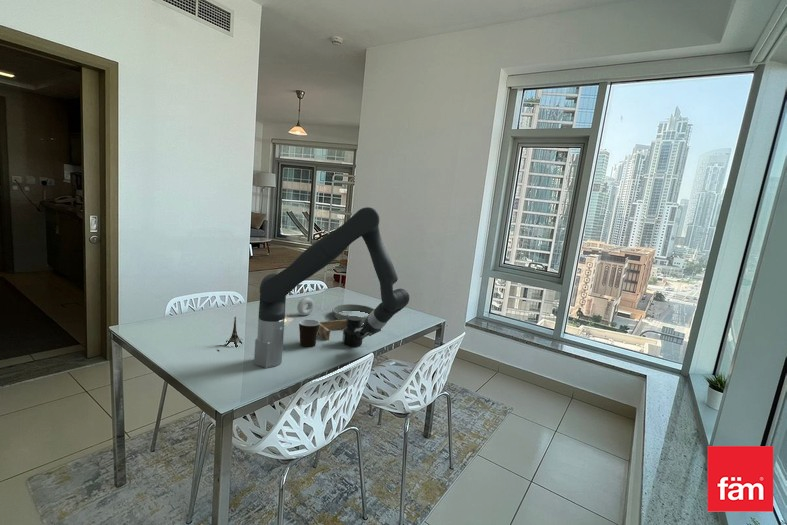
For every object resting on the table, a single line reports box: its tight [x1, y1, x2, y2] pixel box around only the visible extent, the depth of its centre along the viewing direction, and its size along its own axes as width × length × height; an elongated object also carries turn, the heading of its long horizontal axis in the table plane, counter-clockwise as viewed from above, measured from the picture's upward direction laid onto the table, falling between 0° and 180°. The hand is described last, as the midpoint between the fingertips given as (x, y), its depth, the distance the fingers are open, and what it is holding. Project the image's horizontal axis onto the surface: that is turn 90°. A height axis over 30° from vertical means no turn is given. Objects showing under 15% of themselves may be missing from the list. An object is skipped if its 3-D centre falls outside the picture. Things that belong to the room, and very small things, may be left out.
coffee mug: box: [298, 318, 321, 349], centre depth 161 cm, size 12×9×10 cm
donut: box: [296, 296, 315, 317], centre depth 199 cm, size 10×3×10 cm, turn 139°
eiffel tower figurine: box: [224, 316, 243, 349], centre depth 152 cm, size 15×10×13 cm
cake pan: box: [332, 303, 375, 323], centre depth 205 cm, size 25×25×4 cm
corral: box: [318, 319, 347, 341], centre depth 178 cm, size 12×18×4 cm, turn 125°
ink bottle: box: [341, 316, 363, 348], centre depth 166 cm, size 10×9×12 cm
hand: (359, 338), depth 162 cm, fingers closed
